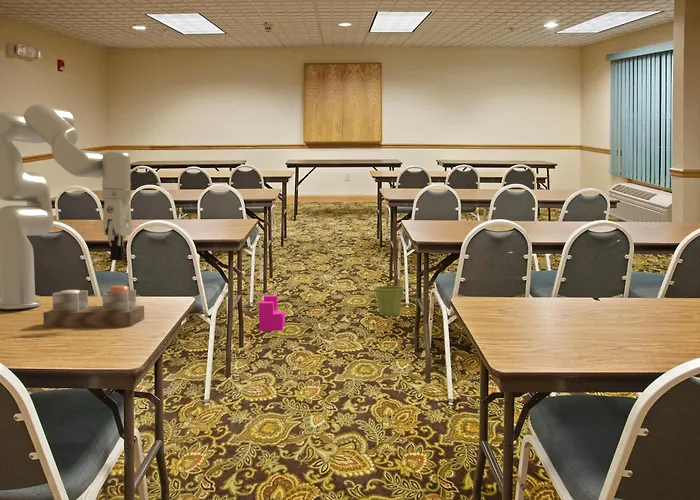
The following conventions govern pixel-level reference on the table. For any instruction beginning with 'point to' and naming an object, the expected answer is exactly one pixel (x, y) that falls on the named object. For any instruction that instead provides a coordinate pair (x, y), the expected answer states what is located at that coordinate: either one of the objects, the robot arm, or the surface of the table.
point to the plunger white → (70, 291)
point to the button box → (93, 310)
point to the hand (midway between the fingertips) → (117, 259)
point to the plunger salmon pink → (119, 289)
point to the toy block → (270, 315)
